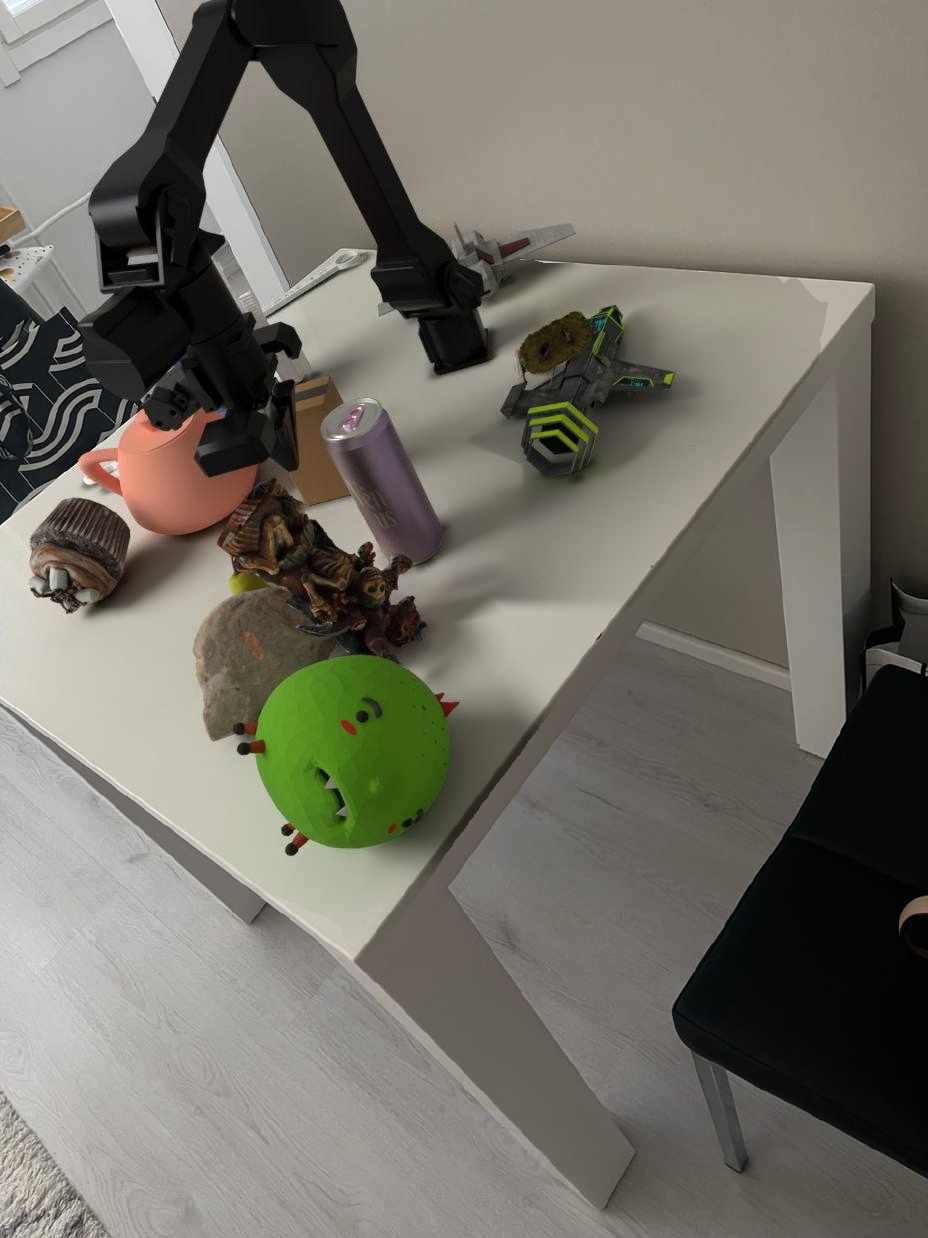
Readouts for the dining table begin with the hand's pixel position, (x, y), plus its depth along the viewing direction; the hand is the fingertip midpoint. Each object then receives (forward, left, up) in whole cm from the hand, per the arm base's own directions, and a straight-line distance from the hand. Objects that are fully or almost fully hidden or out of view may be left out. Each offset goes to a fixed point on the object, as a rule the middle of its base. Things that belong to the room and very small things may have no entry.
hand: (294, 468), depth 90 cm
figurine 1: (-3, +15, +8) cm, 18 cm away
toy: (-1, +32, -3) cm, 32 cm away
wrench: (+13, -53, -8) cm, 56 cm away
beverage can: (-9, +5, -9) cm, 14 cm away
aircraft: (-27, -11, -9) cm, 31 cm away
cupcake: (+26, -5, -3) cm, 26 cm away
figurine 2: (-26, -10, -1) cm, 28 cm away
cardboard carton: (0, -8, -8) cm, 12 cm away
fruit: (+3, +14, -8) cm, 17 cm away
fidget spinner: (+34, -23, -9) cm, 42 cm away
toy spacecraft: (-15, -43, -8) cm, 47 cm away
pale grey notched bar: (+10, -33, +1) cm, 35 cm away
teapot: (+16, -11, -8) cm, 22 cm away
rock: (0, +21, -8) cm, 23 cm away
